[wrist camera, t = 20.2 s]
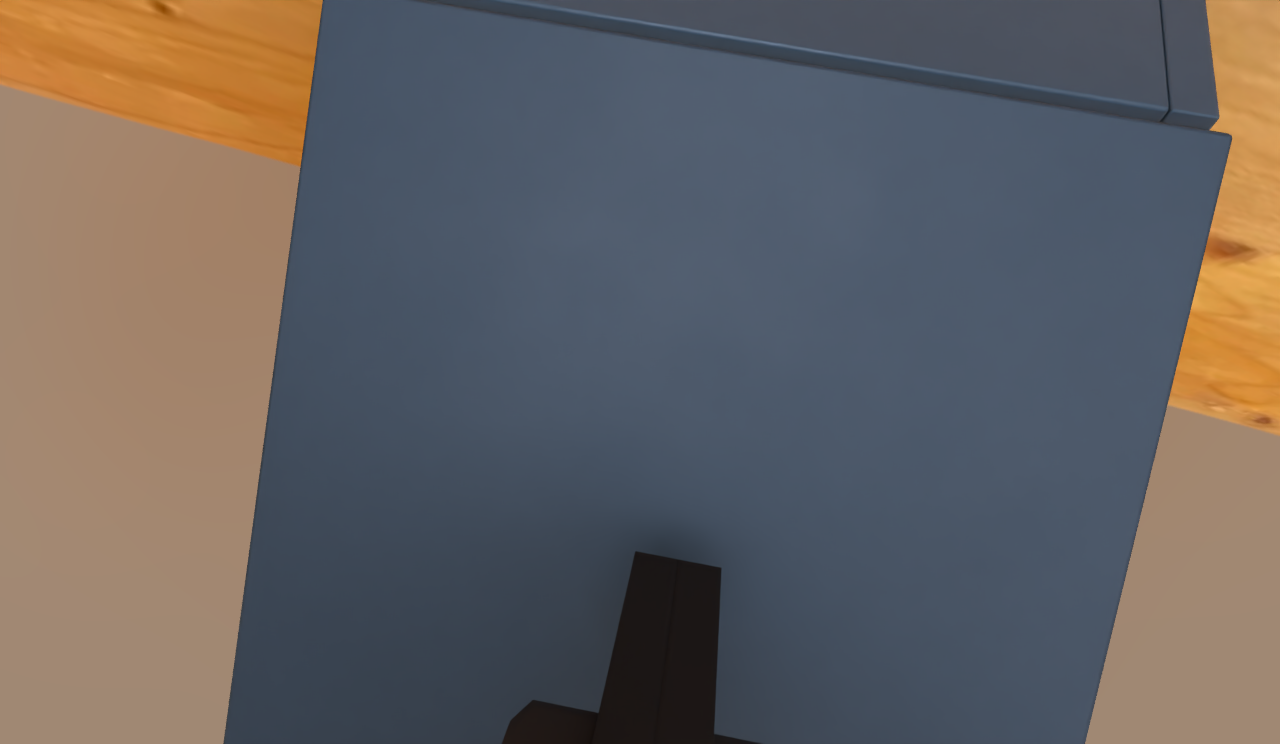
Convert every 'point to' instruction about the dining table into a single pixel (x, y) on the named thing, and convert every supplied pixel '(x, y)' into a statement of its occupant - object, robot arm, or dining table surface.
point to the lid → (704, 385)
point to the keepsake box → (948, 43)
